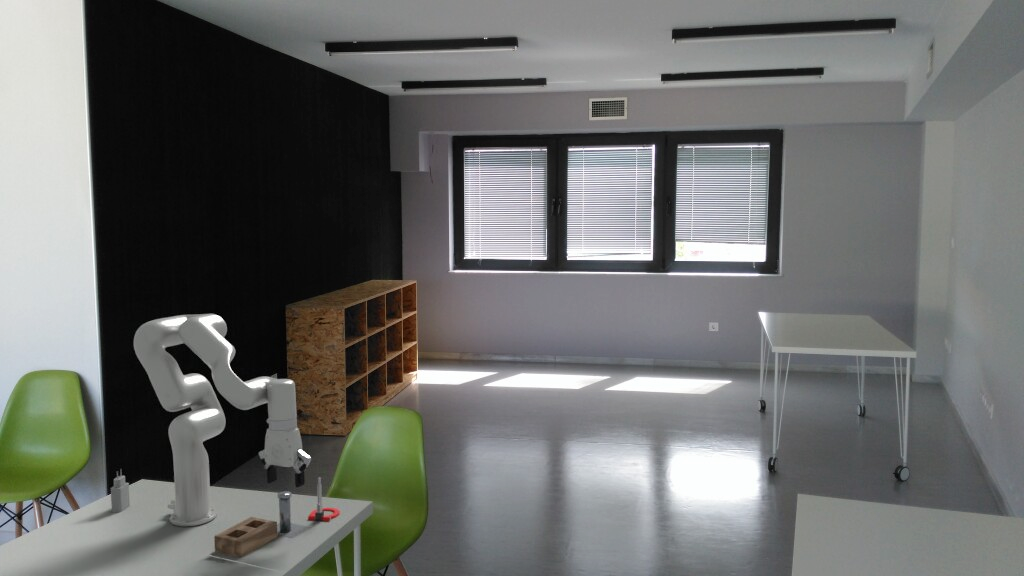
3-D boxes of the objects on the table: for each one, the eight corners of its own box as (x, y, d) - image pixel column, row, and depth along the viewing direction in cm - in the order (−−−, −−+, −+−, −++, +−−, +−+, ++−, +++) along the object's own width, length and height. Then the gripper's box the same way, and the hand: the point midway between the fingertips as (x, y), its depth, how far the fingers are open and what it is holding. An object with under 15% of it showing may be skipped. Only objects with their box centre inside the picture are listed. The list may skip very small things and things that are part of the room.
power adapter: (110, 511, 234) (108, 473, 233) (121, 505, 240) (119, 467, 238) (120, 512, 234) (118, 473, 233) (130, 505, 239) (129, 467, 238)
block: (214, 552, 207) (214, 535, 206) (251, 532, 220) (251, 516, 219) (241, 558, 203) (241, 541, 203) (277, 537, 216) (276, 521, 216)
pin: (275, 532, 219) (274, 495, 218) (284, 527, 223) (283, 490, 221) (286, 534, 218) (285, 497, 217) (295, 529, 221) (294, 492, 220)
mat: (264, 532, 219) (264, 531, 219) (282, 522, 227) (282, 521, 227) (292, 538, 215) (292, 537, 215) (311, 528, 223) (311, 527, 223)
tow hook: (317, 510, 237) (304, 521, 228) (317, 468, 236) (304, 477, 227) (343, 512, 236) (332, 523, 227) (343, 470, 235) (332, 479, 226)
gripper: (249, 424, 217) (252, 484, 218) (299, 430, 210) (302, 492, 212) (267, 418, 224) (270, 476, 225) (316, 423, 217) (319, 483, 219)
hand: (286, 483), depth 219 cm, fingers open, 9 cm apart
